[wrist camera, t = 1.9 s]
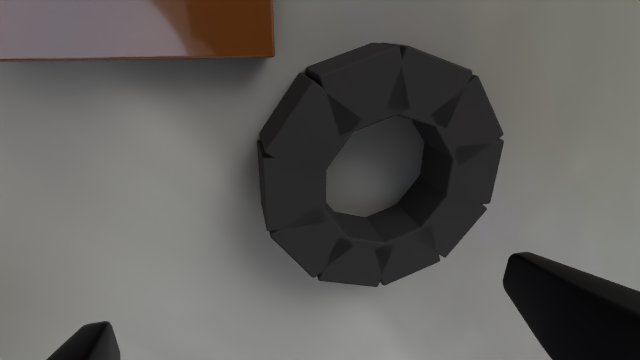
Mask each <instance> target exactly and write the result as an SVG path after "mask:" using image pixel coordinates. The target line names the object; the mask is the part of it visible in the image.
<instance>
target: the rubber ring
mask: <svg viewBox="0 0 640 360" xmlns="http://www.w3.org/2000/svg"><path fill="white" fill-rule="evenodd" d="M306 72H307V75H308V77H307V76H305V75H304V74H302V73H299V74H298V76H297V77H296V79H295V80H294V82H293V83H292V85H291V86H290V88H289V89H288V91H287V92H286V94H285V95H284V97H283V98H282V100H281V101H280V103H279V104H278V106H277V107H276V109H275V110H274V112H273V114H272V115H271V117H270V118H269V120H268V121H267V123H266V124H265V126H264V127H263V129H262V130H261V132H260V134H259V135H260V138H261V140H258V141H257V147H258V162H259V176H260V191H261V204H262V209H263V214H264V219H265V223H266V228H267V231H269V232H270V236H271V238H272V239H273V240H274V241H275V242H276V243H277V244H278V245H279V246H281V247H282V248H283V249H284V250H285V251H286V252H287V253H288V254H289V255H290V256H291V257H292V258H293V259H294V260H295V261H296V262H297V263H298V264H299V265H300V266H301V267H302V268H303V269H304V270H305V271H306V272H307V273H308V274H309V275H310V276H311V277H313V278H314V277H316V276H317V277H318V280H320V281H327V282H336V283H345V284H355V285H364V286H374V287H377V286H378V285H379V282H381V283H382V285H387V284H389V283H391V282H394V281H396V280H398V279H400V278H403V277H405V276H407V275H410V274H412V273H414V272H416V271H419V270H421V269H423V268H426V267H428V266H430V265H433V264H435V263H437V262H439V261H440V258H439V255H441V256H443V257H446V256H447V255H448V254H449V253H450V252H451V250H452V249H453V248H454V247H455V246H456V245H457V244H458V242H459V241H460V240H461V239H462V238H463V237H464V235H465V234H466V233H467V232H468V231H469V230H470V228H471V227H472V226H473V225H474V224H475V223H476V221H477V220H478V219H479V218H480V217H481V216H482V214H483V213H484V212H485V211H486V210H487V208H486V207H485V206H483V205H482V204H488V203H490V201H491V196H492V192H493V188H494V183H495V179H496V174H497V170H498V165H499V161H500V156H501V152H502V148H503V143H504V141H503V140H501V139H499V138H500V137H501V136H502V135H503V131H502V129H501V127H500V125H499V122H498V120H497V118H496V116H495V113H494V111H493V109H492V106H491V104H490V102H489V100H488V97H487V95H486V93H485V91H484V88H483V86H482V84H481V82H480V79H479V77H478V76H476V75H472V71H471V70H470V69H467V68H464V67H462V66H459V65H457V64H454V63H451V62H449V61H446V60H444V59H441V58H438V57H436V56H433V55H430V54H428V53H425V52H423V51H420V50H417V49H415V48H412V47H410V46H405V45H397V44H389V43H381V44H380V43H371V44H368V45H365V46H363V47H360V48H357V49H354V50H352V51H349V52H346V53H344V54H341V55H338V56H336V57H333V58H330V59H327V60H325V61H322V62H319V63H317V64H314V65H311V66H309V67H307V68H306ZM394 115H398V116H402V117H405V118H408V119H411V120H412V121H413V123H414V125H415V126H416V128H417V130H418V132H419V133H420V135H421V137H422V138H423V140H424V142H425V143H424V151H423V159H422V166H421V174H420V177H419V178H418V179H417V181H416V182H415V183H414V184H413V186H412V187H411V188H410V189H409V191H408V192H407V193H406V194H405V196H404V197H403V198H402V200H401V201H400V202H399V203H398V204H397V205H395V206H393V207H390V208H388V209H385V210H383V211H381V212H378V213H376V214H373V215H371V216H369V217H366V218H365V217H359V216H354V215H348V214H343V213H337V212H334V211H333V210H332V209H331V208H330V207H329V205H328V204H327V203H326V169H327V167H328V166H329V165H330V163H331V162H332V161H333V159H334V158H335V156H336V155H337V154H338V152H339V151H340V149H341V148H342V147H343V145H344V144H345V143H346V141H347V140H348V138H349V137H350V136H351V134H352V133H353V132H354V131H356V130H359V129H361V128H364V127H366V126H369V125H371V124H374V123H377V122H379V121H382V120H384V119H387V118H389V117H392V116H394Z"/></svg>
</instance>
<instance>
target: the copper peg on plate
mask: <svg viewBox="0 0 640 360" xmlns="http://www.w3.org/2000/svg"><path fill="white" fill-rule="evenodd" d="M274 56H275V46H274V23H273V0H0V62H20V61H83V60H146V59H209V58H272V57H274Z"/></svg>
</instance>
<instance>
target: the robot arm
mask: <svg viewBox="0 0 640 360" xmlns="http://www.w3.org/2000/svg"><path fill="white" fill-rule="evenodd" d="M503 286H504V289H505V291H506V292H507V294H508V296H509V297H510V299H511V300H512V302H513V303H514V305H515V306H516V308H517V309H518V311H519V312H520V314H521V315H522V317H523V318H524V320H525V321H526V323H527V324H528V326H529V327H530V329H531V331H532V332H533V334H534V335H535V337H536V338H537V340H538V341H539V342H540V344H541V345H542V347H543V348H544V349H545V351H546V352H547V353H548V355H549V356H550V357H551V359H552V360H640V292H639V291H637V290H634V289H631V288H628V287H625V286H623V285H620V284H617V283H614V282H611V281H609V280H606V279H603V278H600V277H597V276H594V275H592V274H589V273H586V272H583V271H580V270H578V269H575V268H572V267H569V266H566V265H564V264H561V263H558V262H555V261H552V260H550V259H547V258H544V257H541V256H538V255H536V254H533V253H530V252H521V253H515V254H512V255H511V256H510V257H509V259H508V263H507V267H506V270H505V274H504V278H503ZM46 360H120V351H119V347H118V344H117V341H116V337H115V334H114V331H113V328H112V325H111V324H110V322H107V321H103V322H97V323H91V324H86V325H84V326H83V327H81V328H80V329H79V330H78V331H77V332H76V333H75V334H74V335H72V336H71V337H70V338H69V339H68V340H67V341H66V342H65V343H64V344H63V345H62V346H61V347H59V348H58V349H57V350H56V351H55V352H54V353H53V354H52V355H51V356H50V357H49V358H48V359H46Z"/></svg>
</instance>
